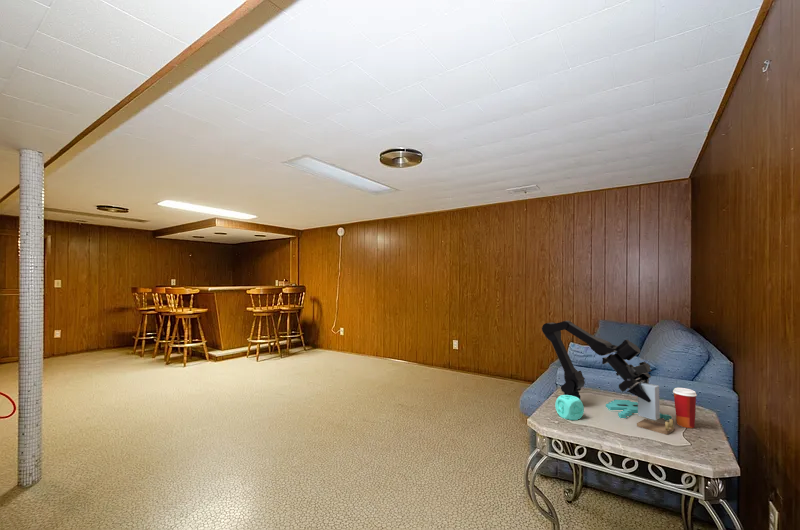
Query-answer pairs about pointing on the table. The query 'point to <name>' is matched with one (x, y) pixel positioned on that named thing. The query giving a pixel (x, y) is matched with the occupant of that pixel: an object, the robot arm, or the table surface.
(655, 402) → the pale blue upright block
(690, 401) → the paper cup
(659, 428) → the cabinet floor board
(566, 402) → the decorative dice
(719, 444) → the table surface
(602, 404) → the table surface
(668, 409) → the table surface
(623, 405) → the alien figure
